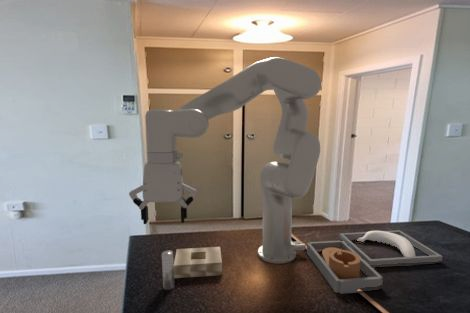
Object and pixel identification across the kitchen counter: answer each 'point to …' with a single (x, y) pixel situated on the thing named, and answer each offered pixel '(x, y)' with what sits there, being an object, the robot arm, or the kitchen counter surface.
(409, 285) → the kitchen counter surface
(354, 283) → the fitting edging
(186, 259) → the hole block
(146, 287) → the kitchen counter surface
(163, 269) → the steel peg
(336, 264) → the bracket
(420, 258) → the banana edging
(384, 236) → the banana
